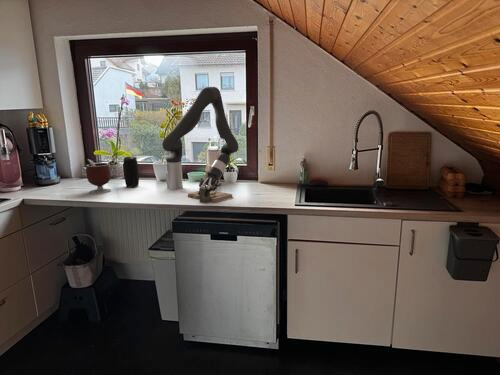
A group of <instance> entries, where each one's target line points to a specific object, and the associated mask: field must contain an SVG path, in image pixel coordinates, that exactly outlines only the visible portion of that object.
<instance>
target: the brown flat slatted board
mask: <svg viewBox="0 0 500 375" xmlns="http://www.w3.org/2000/svg"><path fill="white" fill-rule="evenodd" d="M198 192H199V190H197V191H196V190H195V191H193V192H189V193H187V198H191V199H196V200H200V196H199V195H198ZM211 192H216V194H215V196H214V195H212V196H210V202H209V203H218V202H222V201H225V200H229V199H233V194H232V193H229V192H228V193H227V192H222V191H217V190H215V191H211ZM211 192H210V193H211Z"/></svg>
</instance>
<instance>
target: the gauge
mask: <svg viewBox="0 0 500 375" xmlns="http://www.w3.org/2000/svg"><path fill="white" fill-rule="evenodd" d="M207 189H208V187H201V188H200V187H199V188H198V191H199V193H200V199H199V203H201V204H202V203H203V204H208V203H211V202H210V196H212V195H214V196H215V194H216V192H211V193H209V195H208V196H207V197H205V196H204V193H205V192H206V190H207Z"/></svg>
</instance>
